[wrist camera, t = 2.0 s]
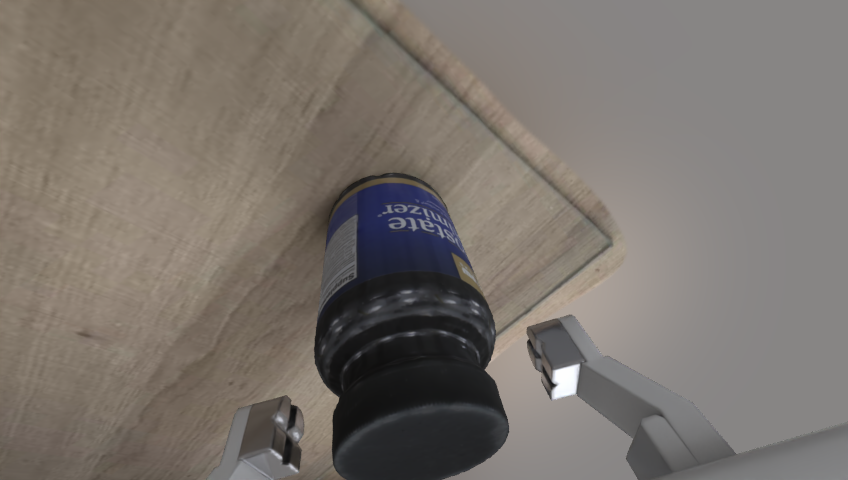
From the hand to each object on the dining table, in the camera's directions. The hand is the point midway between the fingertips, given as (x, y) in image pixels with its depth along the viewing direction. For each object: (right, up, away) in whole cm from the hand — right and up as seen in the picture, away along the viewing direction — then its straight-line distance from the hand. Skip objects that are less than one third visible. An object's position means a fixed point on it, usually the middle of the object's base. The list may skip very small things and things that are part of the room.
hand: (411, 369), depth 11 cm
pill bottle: (-1, +5, +6) cm, 9 cm away
